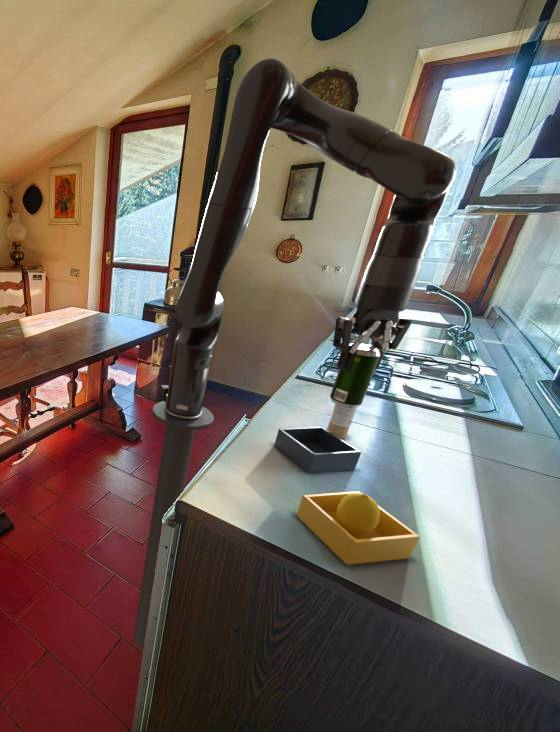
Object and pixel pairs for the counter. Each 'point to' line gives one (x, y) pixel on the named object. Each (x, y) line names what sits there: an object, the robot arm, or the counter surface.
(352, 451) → the slate bin
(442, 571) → the counter surface
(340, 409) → the sprinkles bottle
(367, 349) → the beer can
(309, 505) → the yellow bin
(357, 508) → the lemon
